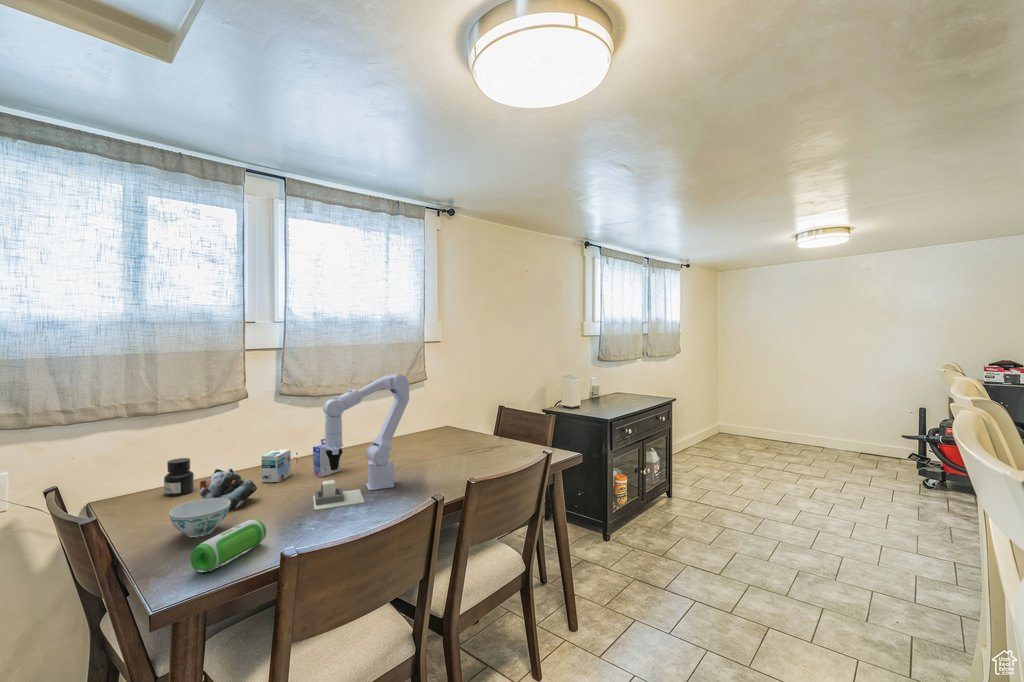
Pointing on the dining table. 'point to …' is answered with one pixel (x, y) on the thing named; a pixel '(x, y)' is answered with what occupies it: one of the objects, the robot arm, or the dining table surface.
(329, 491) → the plug
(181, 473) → the ink bottle
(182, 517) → the chinaware
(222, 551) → the speaker
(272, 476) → the light bulb box
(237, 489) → the grey animal figurine
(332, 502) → the socket board
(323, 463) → the ink cartridge box
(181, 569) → the dining table surface
